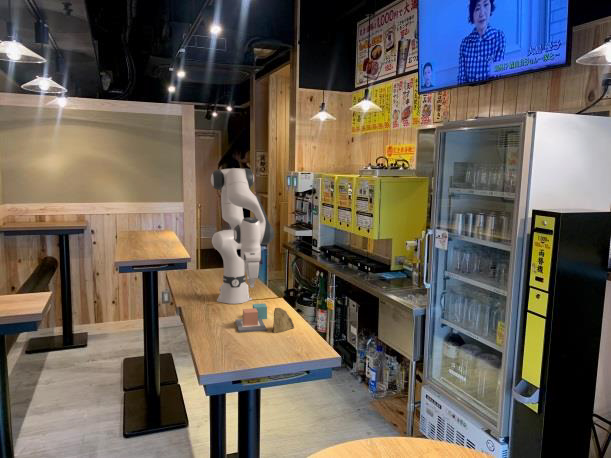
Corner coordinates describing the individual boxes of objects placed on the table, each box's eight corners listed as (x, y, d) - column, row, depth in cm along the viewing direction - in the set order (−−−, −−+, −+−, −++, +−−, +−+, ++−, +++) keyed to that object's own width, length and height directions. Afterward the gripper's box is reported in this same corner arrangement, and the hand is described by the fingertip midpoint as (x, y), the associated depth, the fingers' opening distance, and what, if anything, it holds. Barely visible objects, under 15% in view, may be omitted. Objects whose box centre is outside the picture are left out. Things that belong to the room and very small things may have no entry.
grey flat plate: (235, 321, 213) (235, 319, 213) (261, 319, 216) (261, 317, 216) (238, 332, 198) (238, 330, 198) (266, 330, 201) (266, 328, 201)
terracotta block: (242, 321, 209) (242, 309, 209) (256, 321, 211) (256, 308, 210) (244, 325, 203) (244, 312, 203) (257, 325, 205) (257, 312, 204)
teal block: (252, 316, 222) (252, 304, 222) (265, 315, 224) (265, 303, 223) (254, 319, 216) (254, 307, 216) (267, 319, 218) (267, 306, 217)
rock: (294, 319, 209) (272, 317, 208) (297, 308, 203) (274, 305, 202) (293, 340, 201) (270, 337, 200) (296, 329, 196) (273, 326, 194)
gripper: (241, 250, 214) (241, 280, 215) (246, 258, 194) (246, 290, 195) (254, 250, 215) (254, 279, 217) (261, 258, 195) (260, 289, 197)
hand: (250, 284), depth 206 cm, fingers open, 8 cm apart
